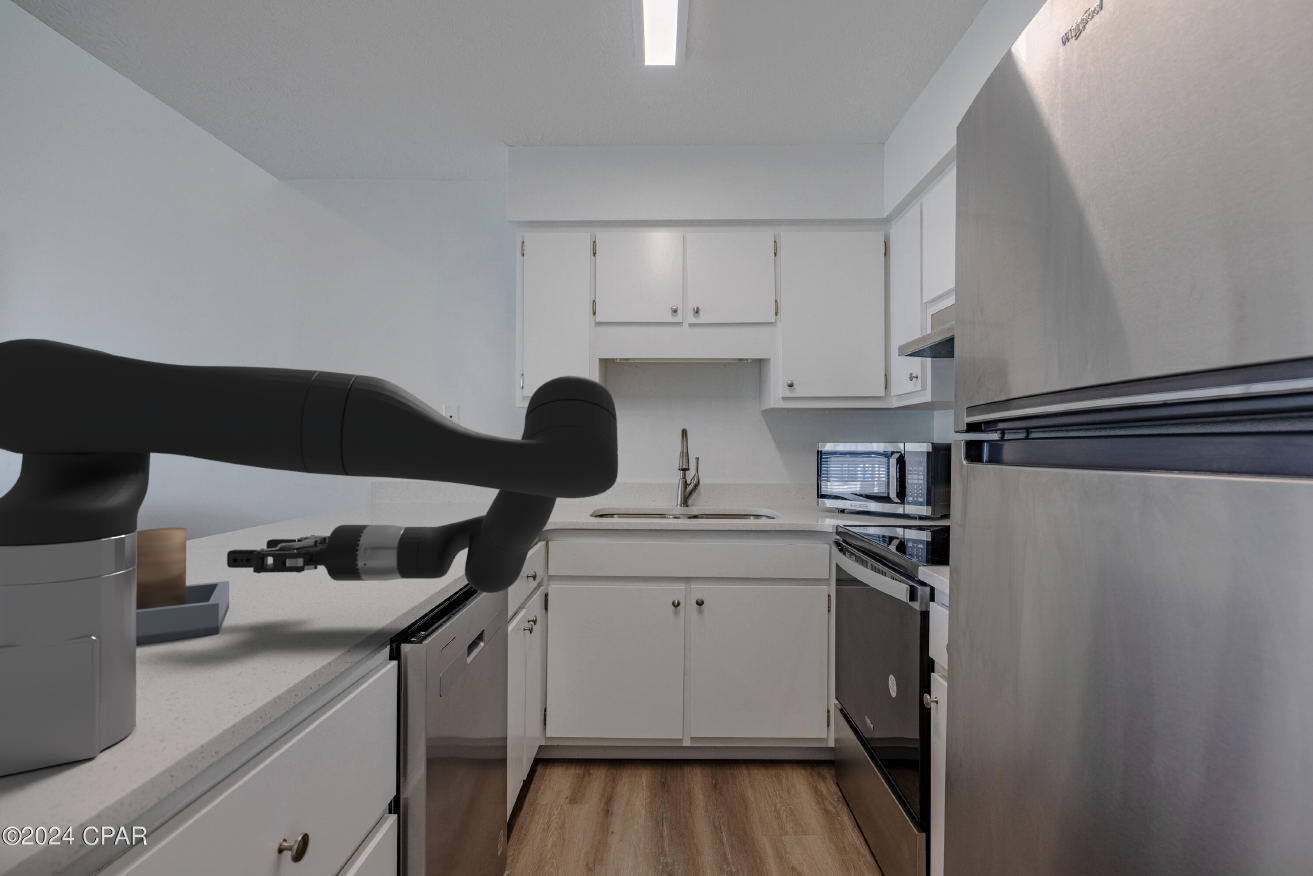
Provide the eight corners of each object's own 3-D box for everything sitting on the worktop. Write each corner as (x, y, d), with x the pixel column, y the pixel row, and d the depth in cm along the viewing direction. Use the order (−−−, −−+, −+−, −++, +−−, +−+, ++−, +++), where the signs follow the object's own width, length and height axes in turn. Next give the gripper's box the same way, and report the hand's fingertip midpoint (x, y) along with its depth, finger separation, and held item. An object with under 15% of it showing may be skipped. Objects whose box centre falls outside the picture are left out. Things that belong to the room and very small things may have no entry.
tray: (218, 633, 78) (218, 602, 78) (72, 653, 71) (72, 619, 71) (229, 607, 90) (229, 580, 90) (105, 621, 83) (105, 592, 83)
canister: (182, 622, 80) (183, 531, 80) (131, 628, 77) (131, 534, 77) (188, 612, 84) (189, 526, 84) (140, 617, 82) (140, 529, 82)
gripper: (347, 593, 75) (212, 593, 74) (391, 569, 89) (279, 569, 88) (348, 532, 75) (213, 532, 74) (392, 518, 89) (279, 518, 89)
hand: (249, 552), depth 81 cm, fingers open, 8 cm apart
